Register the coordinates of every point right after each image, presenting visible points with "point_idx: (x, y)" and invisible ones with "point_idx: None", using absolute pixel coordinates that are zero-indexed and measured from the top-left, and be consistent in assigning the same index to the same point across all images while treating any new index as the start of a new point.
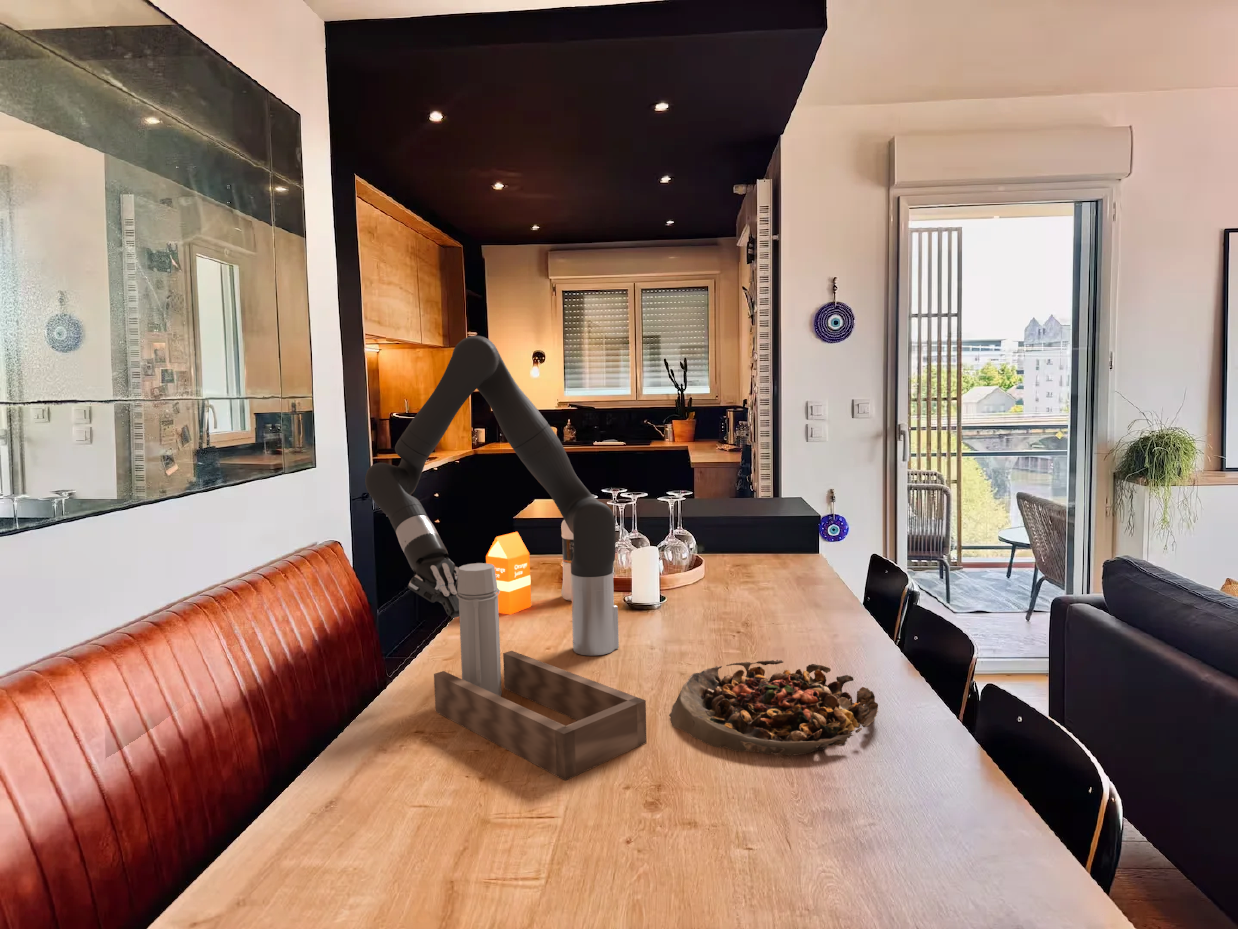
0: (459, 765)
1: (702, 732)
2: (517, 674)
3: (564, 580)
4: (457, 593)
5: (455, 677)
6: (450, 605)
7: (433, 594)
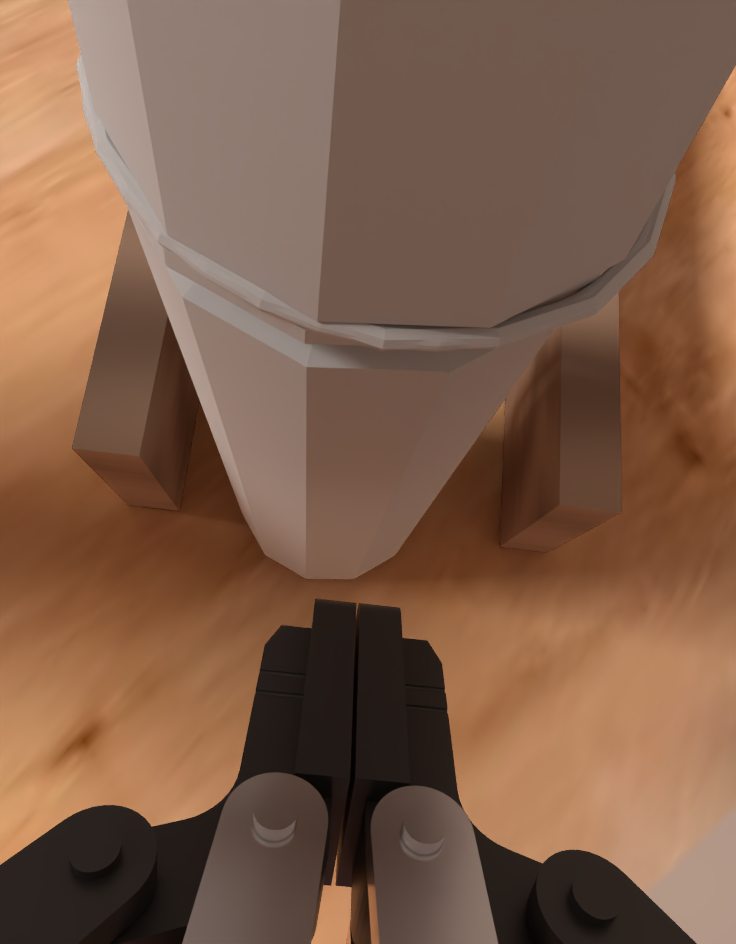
0: (711, 169)
1: None
2: (182, 367)
3: None
4: (621, 261)
5: (571, 376)
6: (407, 701)
7: (639, 909)
